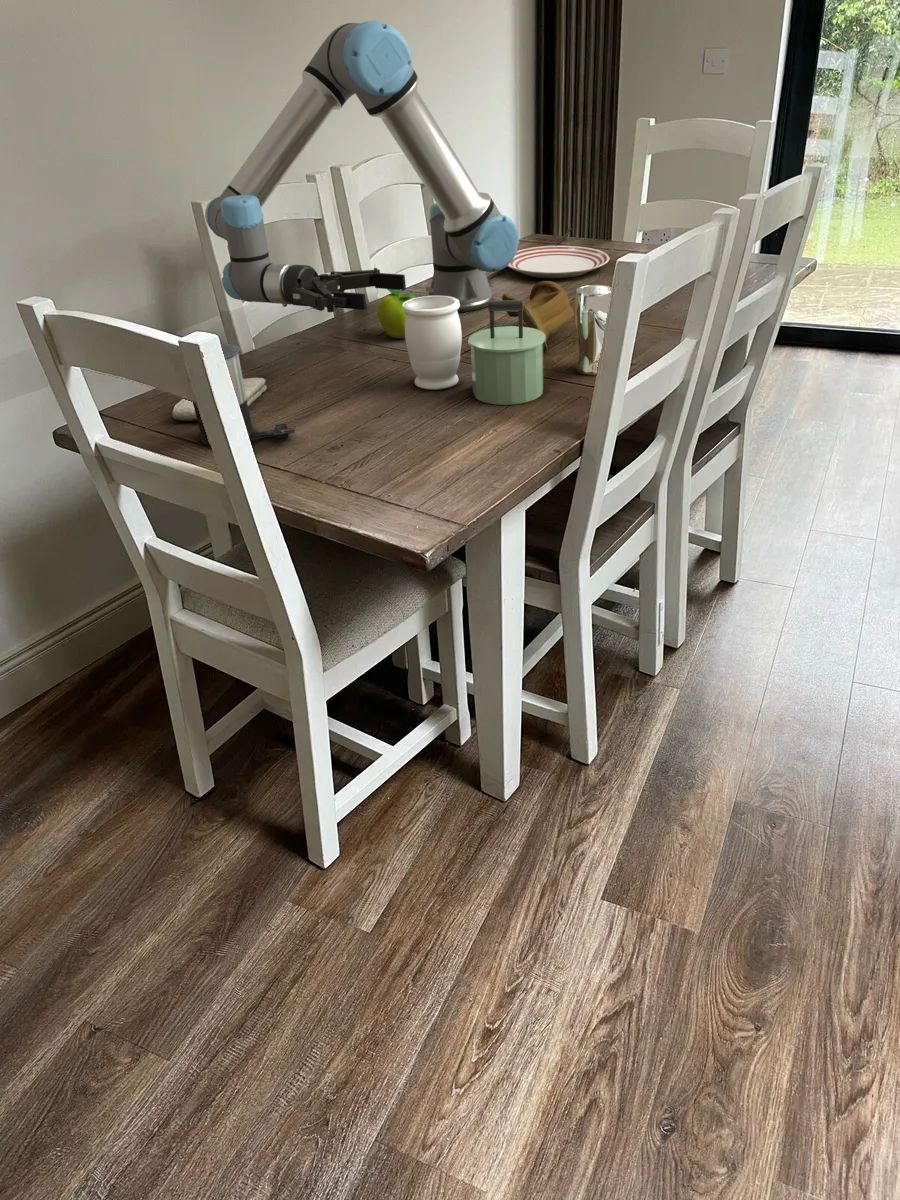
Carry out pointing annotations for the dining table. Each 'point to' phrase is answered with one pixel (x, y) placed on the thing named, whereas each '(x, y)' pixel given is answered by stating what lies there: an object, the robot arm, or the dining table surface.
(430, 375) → the jar
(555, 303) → the brown looped sculpture
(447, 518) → the dining table surface
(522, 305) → the pot lid
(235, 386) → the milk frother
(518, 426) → the dining table surface
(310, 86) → the robot arm
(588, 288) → the beer glass
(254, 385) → the washcloth
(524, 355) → the pot
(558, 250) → the dinner plate
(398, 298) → the fruit
